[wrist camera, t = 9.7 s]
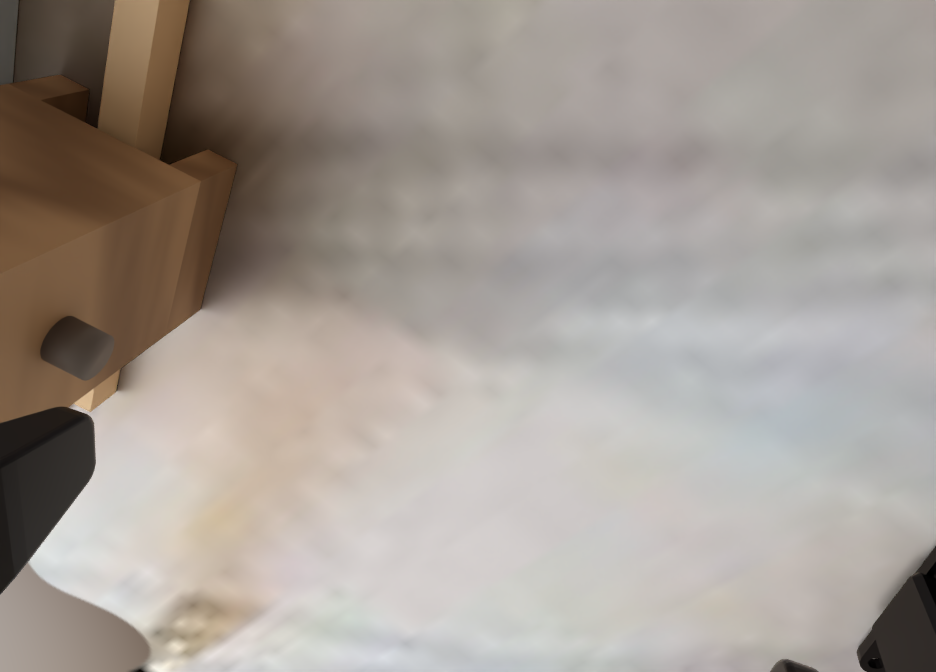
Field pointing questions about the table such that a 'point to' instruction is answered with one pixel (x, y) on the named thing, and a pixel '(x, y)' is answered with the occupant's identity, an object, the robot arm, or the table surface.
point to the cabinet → (92, 245)
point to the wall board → (125, 87)
